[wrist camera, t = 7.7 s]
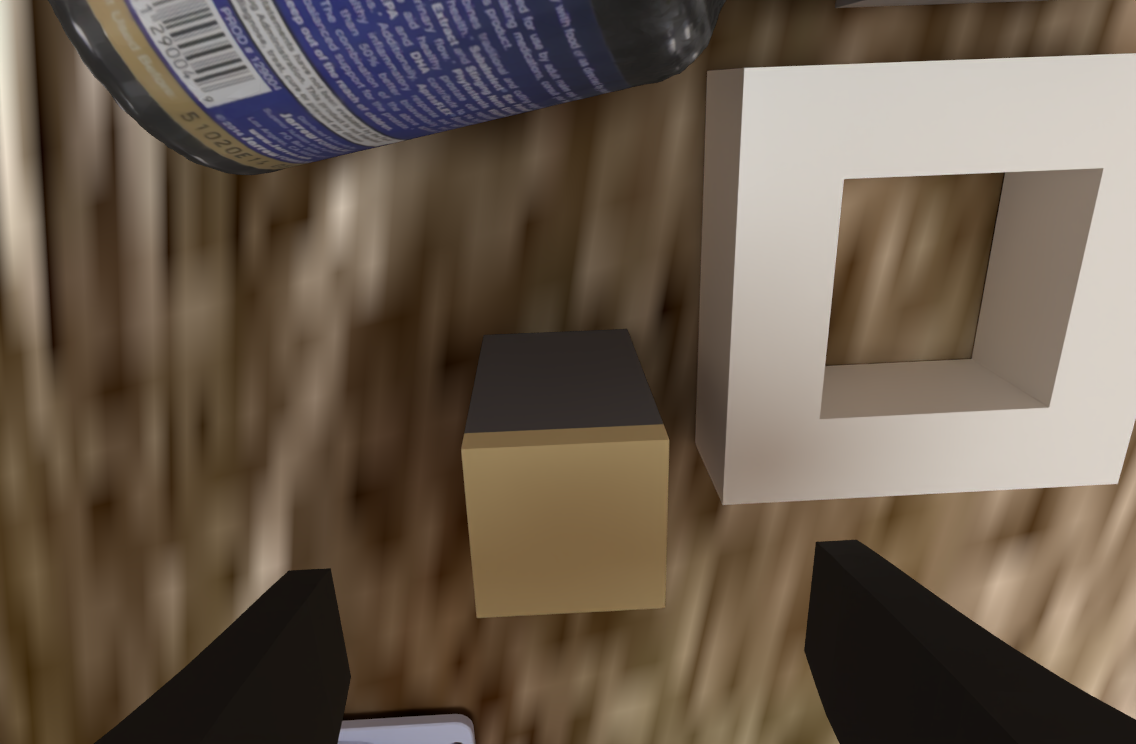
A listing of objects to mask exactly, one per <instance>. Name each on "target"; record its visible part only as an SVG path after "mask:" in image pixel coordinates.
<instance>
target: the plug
mask: <svg viewBox="0 0 1136 744" xmlns="http://www.w3.org/2000/svg"><path fill="white" fill-rule="evenodd" d="M461 454H462V464H463V475H464V486H465V497H466V507H467V518H468V529H469V539H470V550H471V561H472V572H473V582H474V593H475V604H476V615H477V618H488V617H506V616H525V615H544V614H563V613H581V612H600V611H619V610H638V609H656V608H665V598H666V557H667V516H668V474H669V437H668V435H667V432H666V430H665V427H664V424H663V422H662V419H661V417H660V414H659V411H658V409H657V406H656V403H655V401H654V398H653V396H652V393H651V390H650V388H649V385H648V383H647V380H646V377H645V375H644V372H643V369H642V367H641V364H640V362H639V359H638V356H637V354H636V351H635V349H634V346H633V343H632V341H631V338H630V336H629V333H628V330H627V329H616V330H592V331H567V332H543V333H519V334H495V335H484V337H483V342H482V347H481V352H480V357H479V362H478V367H477V372H476V377H475V382H474V387H473V392H472V397H471V402H470V407H469V412H468V417H467V422H466V427H465V432H464V437H463V442H462V447H461Z"/></svg>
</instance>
